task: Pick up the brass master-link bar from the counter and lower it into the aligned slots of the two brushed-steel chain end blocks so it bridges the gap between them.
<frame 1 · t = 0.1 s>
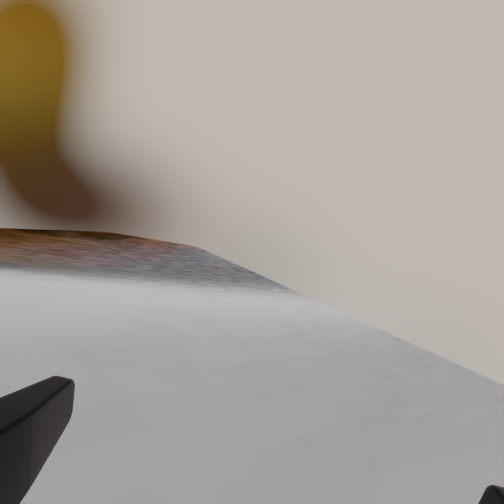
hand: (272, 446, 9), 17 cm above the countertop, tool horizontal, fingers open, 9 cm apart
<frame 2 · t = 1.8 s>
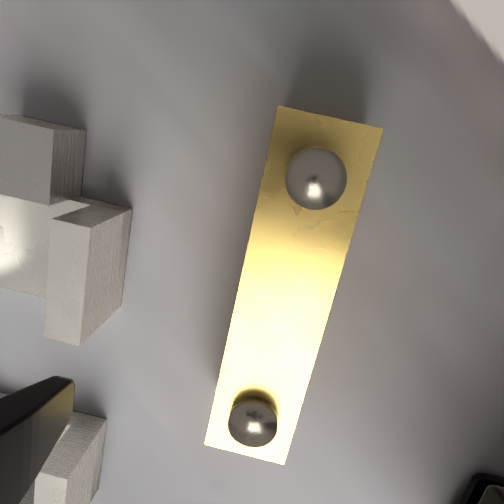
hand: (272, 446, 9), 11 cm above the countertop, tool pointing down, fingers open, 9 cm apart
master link: (284, 273, 19), on the countertop
chain ends: (40, 347, 21), on the countertop
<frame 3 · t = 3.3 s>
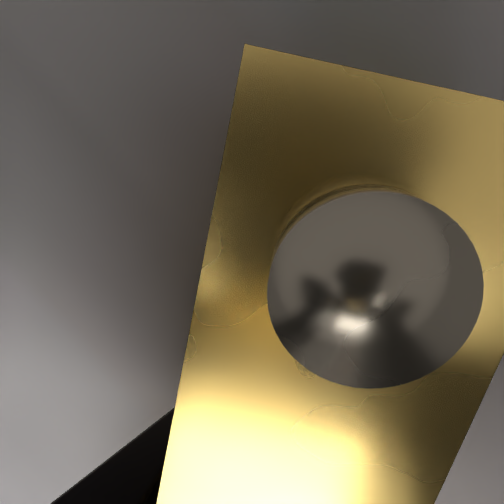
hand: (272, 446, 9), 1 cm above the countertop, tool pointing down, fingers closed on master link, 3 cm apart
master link: (275, 410, 10), on the countertop, touching gripper
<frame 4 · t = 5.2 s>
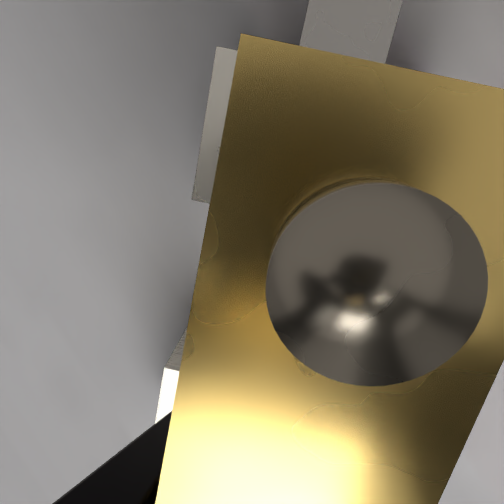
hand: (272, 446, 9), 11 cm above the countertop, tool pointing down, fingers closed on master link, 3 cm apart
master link: (275, 409, 10), point 10 cm above the countertop, touching gripper
chain ends: (283, 277, 19), on the countertop
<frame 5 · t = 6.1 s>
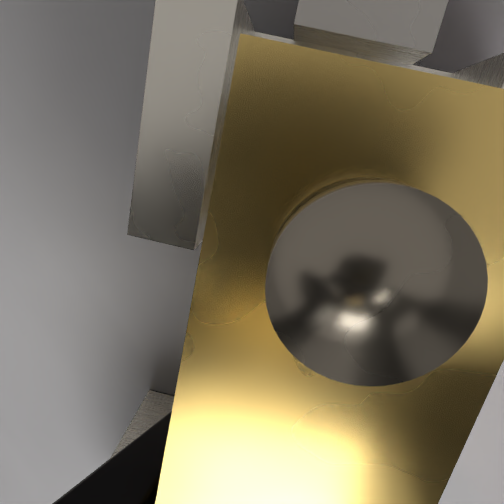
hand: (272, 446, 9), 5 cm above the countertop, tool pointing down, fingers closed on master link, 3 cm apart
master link: (275, 409, 10), point 4 cm above the countertop, touching gripper
chain ends: (277, 331, 13), on the countertop
when the fingers open (4 cm above the countertop, at t = 6.6 s): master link drops 2 cm, resting on chain ends.
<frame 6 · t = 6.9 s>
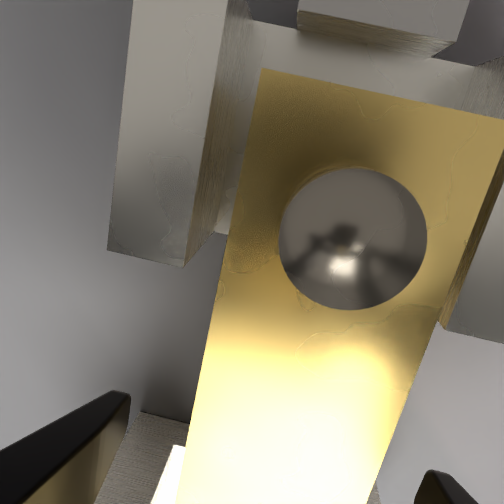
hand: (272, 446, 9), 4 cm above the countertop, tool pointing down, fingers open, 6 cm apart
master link: (280, 367, 11), point 1 cm above the countertop, touching chain ends
chain ends: (278, 350, 12), on the countertop
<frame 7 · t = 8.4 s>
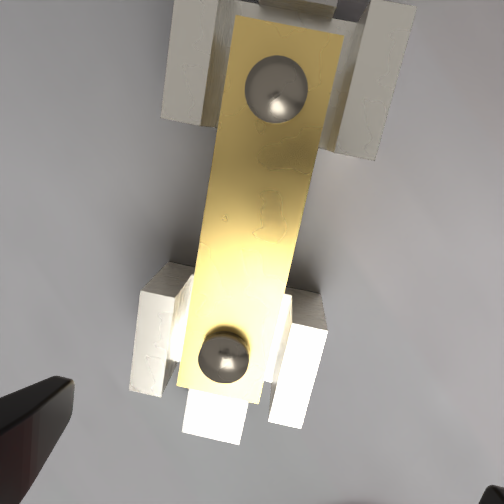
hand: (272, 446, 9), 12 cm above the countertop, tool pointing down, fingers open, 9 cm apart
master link: (257, 214, 18), point 1 cm above the countertop, touching chain ends
chain ends: (257, 211, 19), on the countertop
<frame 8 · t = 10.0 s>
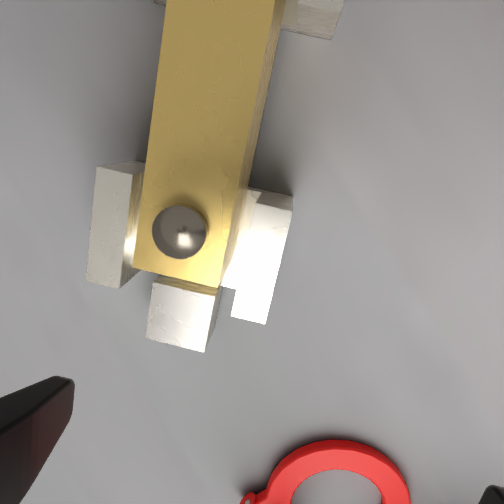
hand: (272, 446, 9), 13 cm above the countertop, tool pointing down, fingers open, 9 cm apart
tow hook: (329, 495, 25), on the countertop
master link: (224, 101, 18), point 1 cm above the countertop, touching chain ends
chain ends: (226, 104, 19), on the countertop
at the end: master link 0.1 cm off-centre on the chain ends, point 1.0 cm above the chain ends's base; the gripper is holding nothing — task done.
